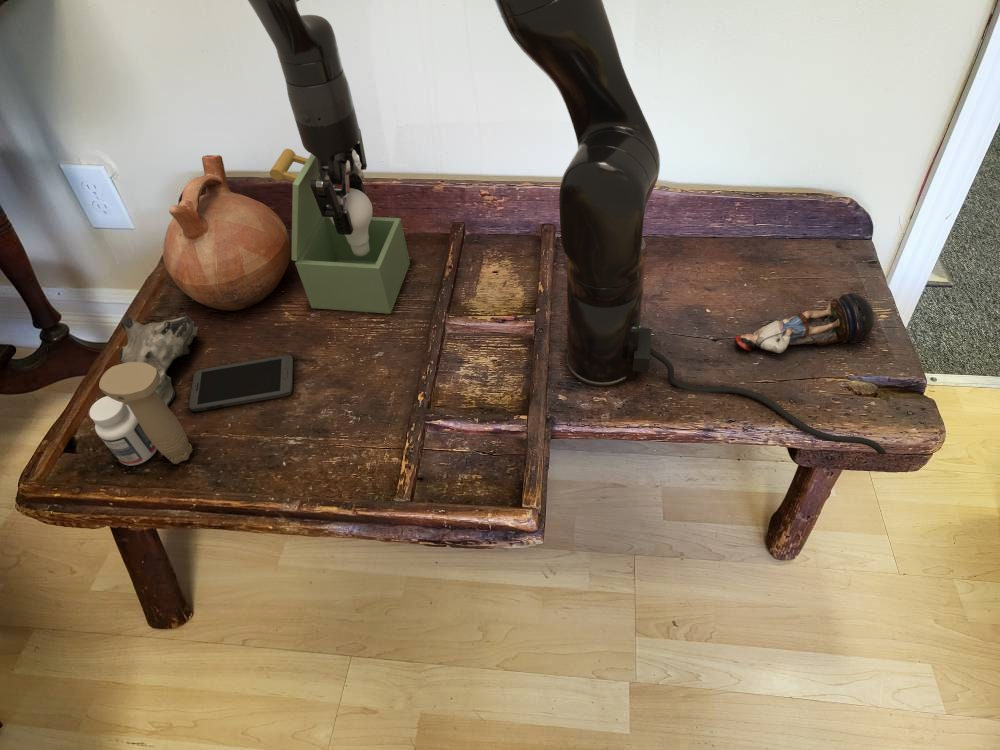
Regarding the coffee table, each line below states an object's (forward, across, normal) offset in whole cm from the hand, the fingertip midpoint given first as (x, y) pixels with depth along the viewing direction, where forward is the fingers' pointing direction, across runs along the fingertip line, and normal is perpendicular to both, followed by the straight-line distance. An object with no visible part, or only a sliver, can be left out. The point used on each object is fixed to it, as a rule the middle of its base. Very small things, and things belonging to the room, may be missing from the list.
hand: (352, 217), depth 104 cm
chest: (+13, 0, +2) cm, 13 cm away
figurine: (+13, -5, -62) cm, 64 cm away
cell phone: (+13, -22, +12) cm, 28 cm away
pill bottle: (+13, -34, +22) cm, 42 cm away
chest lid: (-3, 0, +5) cm, 6 cm away
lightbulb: (+7, 0, 0) cm, 7 cm away
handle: (+13, -34, +16) cm, 40 cm away
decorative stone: (+13, -20, +25) cm, 34 cm away
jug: (+13, -2, +21) cm, 24 cm away
